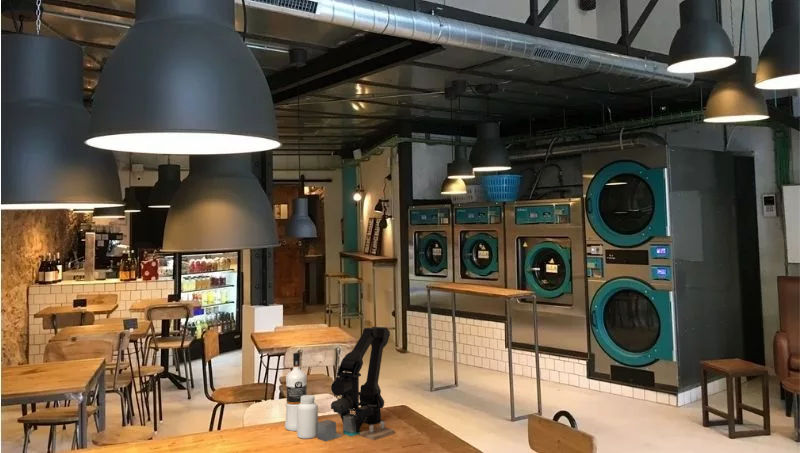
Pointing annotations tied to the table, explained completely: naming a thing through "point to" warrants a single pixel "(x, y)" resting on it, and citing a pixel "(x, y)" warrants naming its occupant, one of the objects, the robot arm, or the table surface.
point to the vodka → (294, 392)
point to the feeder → (327, 430)
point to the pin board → (377, 432)
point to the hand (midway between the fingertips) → (351, 430)
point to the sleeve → (349, 425)
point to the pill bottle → (307, 417)
